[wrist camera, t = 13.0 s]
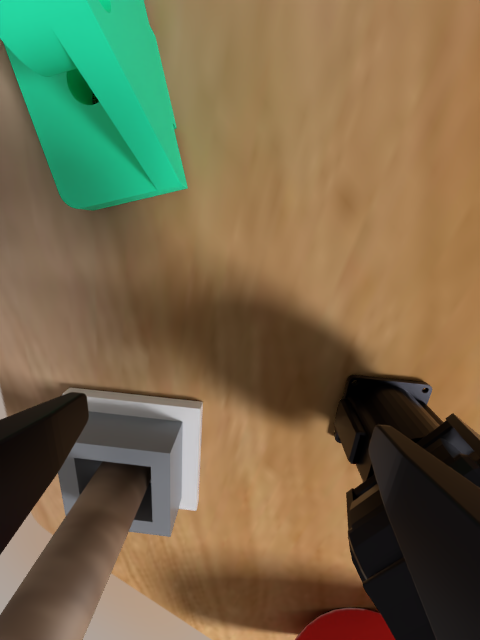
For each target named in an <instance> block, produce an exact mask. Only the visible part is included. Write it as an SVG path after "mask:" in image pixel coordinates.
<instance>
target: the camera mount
mask: <svg viewBox="0 0 480 640" xmlns="http://www.w3.org/2000/svg"><path fill="white" fill-rule="evenodd" d="M0 39H1V40H2V41H3V43H4V46H5V49H6V52H7V54H8V57H9V60H10V62H11V65H12V68H13V70H14V73H15V76H16V79H17V81H18V84H19V87H20V89H21V92H22V95H23V97H24V100H25V103H26V106H27V108H28V111H29V114H30V116H31V119H32V122H33V124H34V127H35V130H36V133H37V135H38V138H39V141H40V143H41V146H42V149H43V151H44V154H45V157H46V160H47V162H48V165H49V168H50V170H51V173H52V176H53V179H54V181H55V184H56V187H57V189H58V192H59V195H60V197H61V198H62V200H63V201H64V202H65V203H66V204H67V205H68V206H70V207H72V208H76V209H84V210H98V209H102V208H107V207H111V206H115V205H119V204H123V203H128V202H132V201H136V200H140V199H145V198H149V197H153V196H157V195H162V194H166V193H170V192H174V191H178V190H183V189H187V188H188V187H187V183H186V178H185V174H184V170H183V166H182V161H181V157H180V153H179V149H178V144H177V140H176V136H175V132H174V129H176V128H177V127H176V123H175V119H174V115H173V110H172V106H171V102H170V97H169V93H168V89H167V84H166V80H165V76H164V72H163V67H162V63H161V59H160V54H159V50H158V46H157V41H156V37H155V35H154V33H153V31H152V29H151V27H150V25H149V21H148V17H147V13H146V9H145V4H144V0H0ZM93 93H94V94H95V96H96V97H97V99H98V100H99V102H98V103H96V104H94V105H93V99H92V97H93Z"/></svg>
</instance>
